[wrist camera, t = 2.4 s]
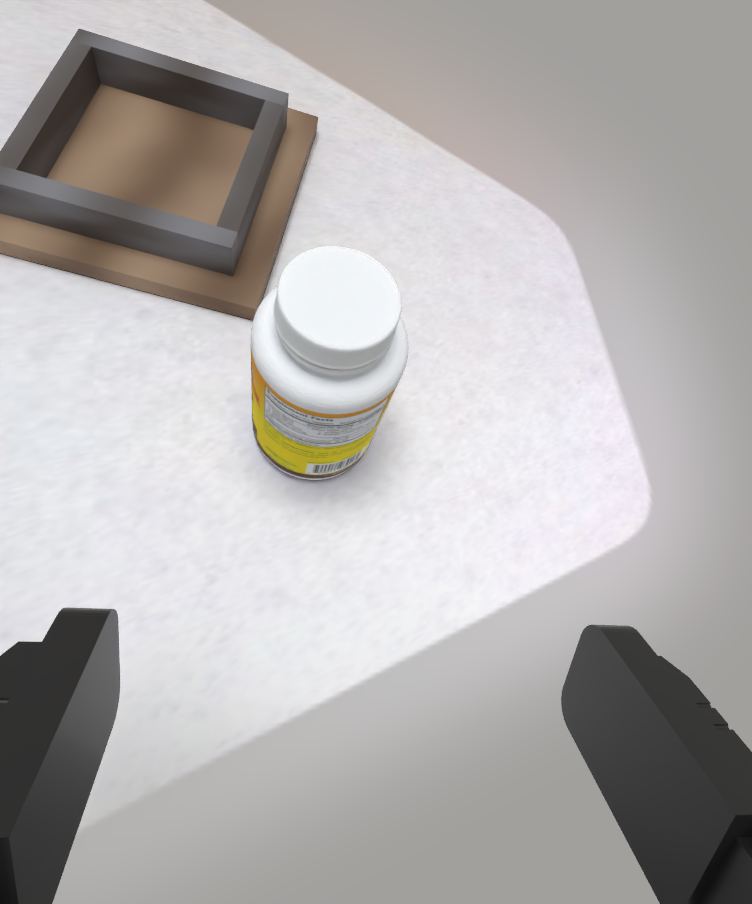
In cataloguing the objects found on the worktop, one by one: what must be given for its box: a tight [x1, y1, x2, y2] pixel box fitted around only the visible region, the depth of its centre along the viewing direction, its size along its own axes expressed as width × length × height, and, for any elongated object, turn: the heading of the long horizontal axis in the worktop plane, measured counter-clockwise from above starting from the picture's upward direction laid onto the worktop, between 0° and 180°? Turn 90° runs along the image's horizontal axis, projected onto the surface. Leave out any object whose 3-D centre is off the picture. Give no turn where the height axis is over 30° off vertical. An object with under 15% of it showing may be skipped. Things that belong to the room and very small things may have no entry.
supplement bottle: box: [251, 246, 408, 480], centre depth 23 cm, size 6×6×10 cm
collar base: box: [0, 29, 318, 320], centre depth 29 cm, size 14×14×3 cm
